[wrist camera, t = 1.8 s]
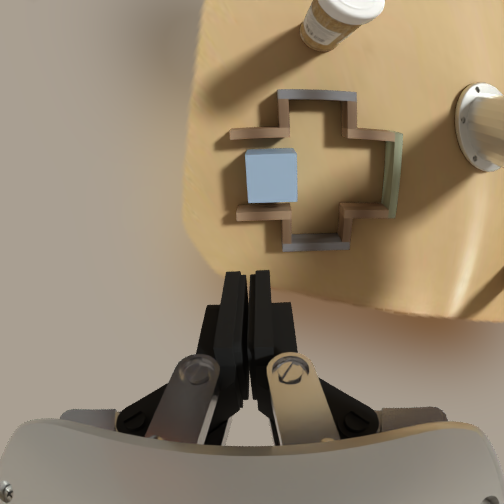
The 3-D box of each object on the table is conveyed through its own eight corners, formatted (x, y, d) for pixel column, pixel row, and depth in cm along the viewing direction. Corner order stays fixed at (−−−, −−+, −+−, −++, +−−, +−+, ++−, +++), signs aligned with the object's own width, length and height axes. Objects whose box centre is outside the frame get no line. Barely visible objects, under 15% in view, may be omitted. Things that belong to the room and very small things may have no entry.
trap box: (393, 98, 25) (403, 98, 23) (383, 239, 34) (390, 248, 32) (229, 93, 27) (226, 92, 24) (241, 243, 35) (239, 253, 33)
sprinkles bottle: (346, 45, 23) (398, 13, 11) (310, 57, 24) (342, 25, 12) (327, 12, 21) (365, -37, 9) (290, 23, 22) (308, -28, 11)
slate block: (292, 147, 30) (296, 153, 26) (293, 190, 32) (297, 201, 28) (247, 149, 30) (245, 155, 26) (250, 191, 32) (248, 203, 29)
